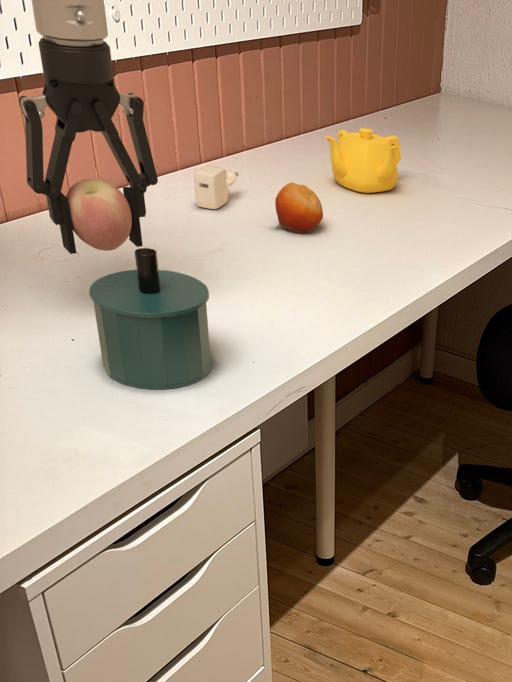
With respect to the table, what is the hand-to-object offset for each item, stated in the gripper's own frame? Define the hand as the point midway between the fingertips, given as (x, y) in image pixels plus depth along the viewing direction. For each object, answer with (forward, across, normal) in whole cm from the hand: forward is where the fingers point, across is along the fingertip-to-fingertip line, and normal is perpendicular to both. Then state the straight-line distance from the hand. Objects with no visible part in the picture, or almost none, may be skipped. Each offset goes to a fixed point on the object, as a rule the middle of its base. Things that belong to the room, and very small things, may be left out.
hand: (103, 246), depth 122 cm
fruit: (+9, +40, +24) cm, 48 cm away
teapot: (+9, +63, +42) cm, 76 cm away
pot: (+9, 0, -16) cm, 18 cm away
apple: (0, 0, 0) cm, 0 cm away
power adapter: (+9, +33, +41) cm, 53 cm away
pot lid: (0, 0, -16) cm, 16 cm away
